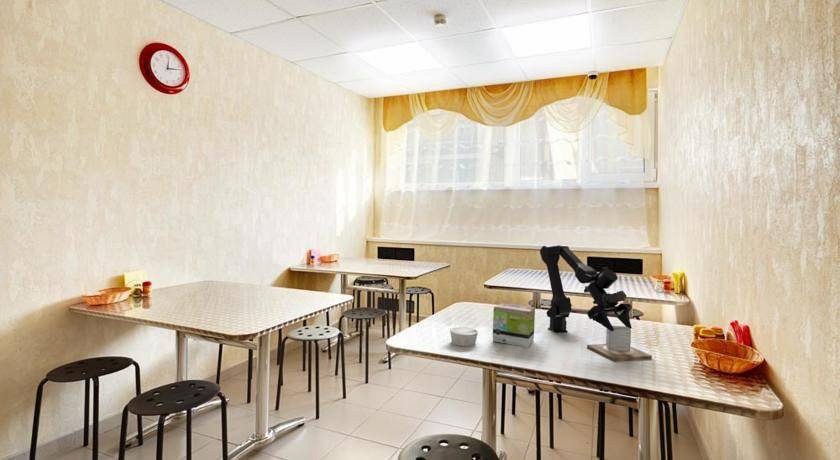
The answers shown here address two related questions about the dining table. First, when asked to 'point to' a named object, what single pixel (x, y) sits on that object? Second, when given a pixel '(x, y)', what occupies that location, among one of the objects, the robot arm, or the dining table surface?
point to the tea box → (513, 324)
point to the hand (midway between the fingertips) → (621, 329)
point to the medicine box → (618, 338)
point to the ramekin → (463, 336)
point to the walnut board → (619, 353)
